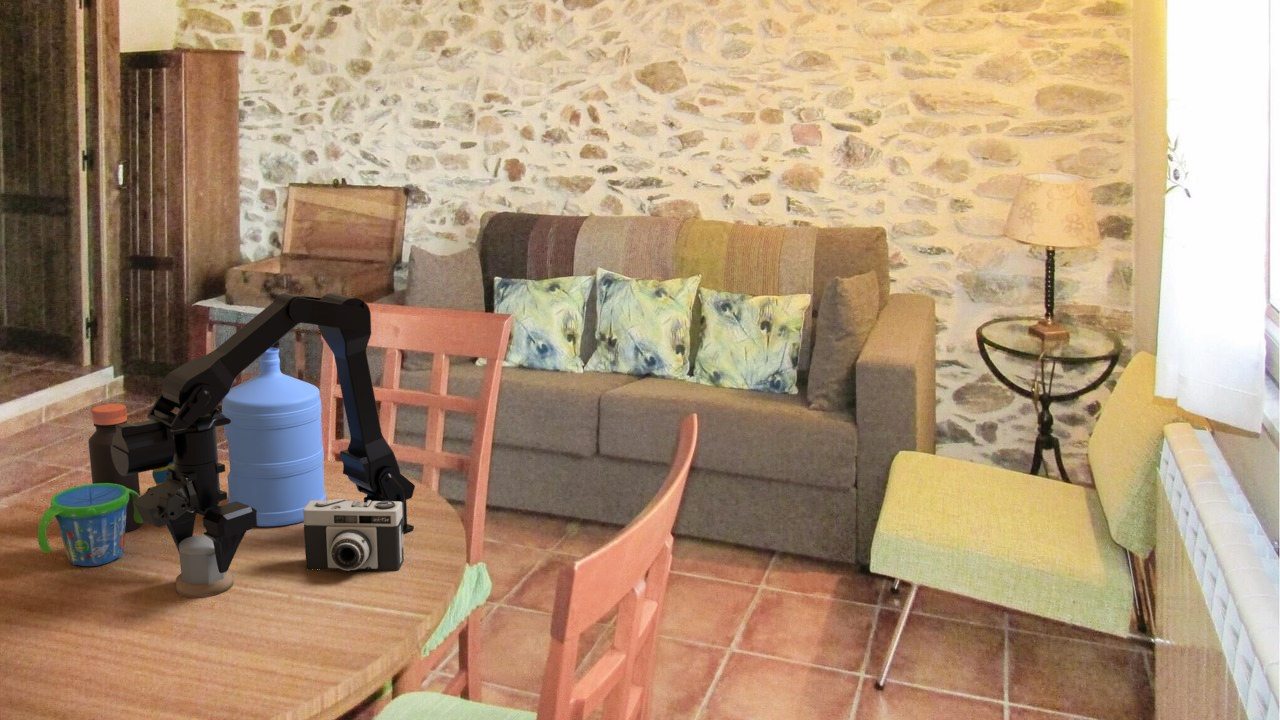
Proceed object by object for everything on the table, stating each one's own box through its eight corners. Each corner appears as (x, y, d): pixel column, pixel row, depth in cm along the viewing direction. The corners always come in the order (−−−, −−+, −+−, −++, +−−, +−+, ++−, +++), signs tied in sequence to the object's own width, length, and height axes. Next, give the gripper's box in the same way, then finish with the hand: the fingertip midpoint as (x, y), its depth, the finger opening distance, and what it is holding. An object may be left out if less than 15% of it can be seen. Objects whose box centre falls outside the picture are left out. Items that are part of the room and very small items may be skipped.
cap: (210, 564, 162) (208, 530, 161) (235, 574, 159) (233, 540, 158) (173, 577, 158) (170, 543, 156) (197, 589, 154) (195, 554, 153)
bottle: (144, 517, 184) (134, 400, 179) (140, 532, 178) (130, 411, 173) (99, 521, 182) (88, 403, 177) (93, 536, 176) (82, 414, 171)
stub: (212, 570, 164) (210, 537, 163) (244, 584, 160) (242, 549, 158) (165, 588, 158) (162, 553, 157) (197, 602, 154) (194, 566, 152)
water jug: (345, 507, 190) (339, 347, 184) (271, 535, 177) (261, 365, 171) (284, 489, 198) (275, 335, 192) (209, 515, 185) (197, 351, 179)
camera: (297, 581, 161) (293, 516, 159) (312, 558, 169) (309, 496, 167) (393, 582, 161) (391, 517, 159) (404, 559, 169) (402, 497, 167)
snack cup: (57, 584, 158) (50, 517, 156) (27, 564, 165) (19, 499, 163) (163, 552, 170) (158, 489, 168) (130, 534, 177) (125, 474, 174)
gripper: (103, 460, 153) (113, 566, 157) (182, 488, 143) (191, 601, 146) (176, 441, 162) (184, 541, 166) (256, 467, 152) (263, 573, 155)
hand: (203, 564), depth 158 cm, fingers open, 9 cm apart
